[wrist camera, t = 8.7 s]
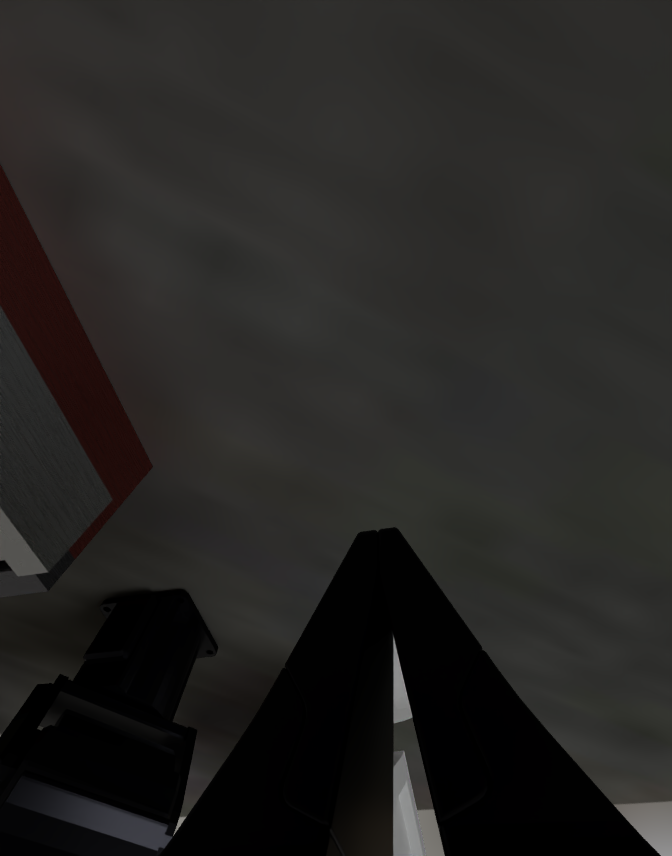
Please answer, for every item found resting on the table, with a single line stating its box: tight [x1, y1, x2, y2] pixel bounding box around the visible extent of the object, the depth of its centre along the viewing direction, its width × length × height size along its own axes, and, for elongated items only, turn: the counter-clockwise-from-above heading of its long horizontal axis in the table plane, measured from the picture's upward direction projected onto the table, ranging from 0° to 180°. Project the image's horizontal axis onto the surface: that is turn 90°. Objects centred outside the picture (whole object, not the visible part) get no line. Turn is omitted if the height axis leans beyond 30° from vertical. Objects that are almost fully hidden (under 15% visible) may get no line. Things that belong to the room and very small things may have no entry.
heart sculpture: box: [393, 637, 426, 856], centre depth 22 cm, size 16×5×18 cm, turn 17°
